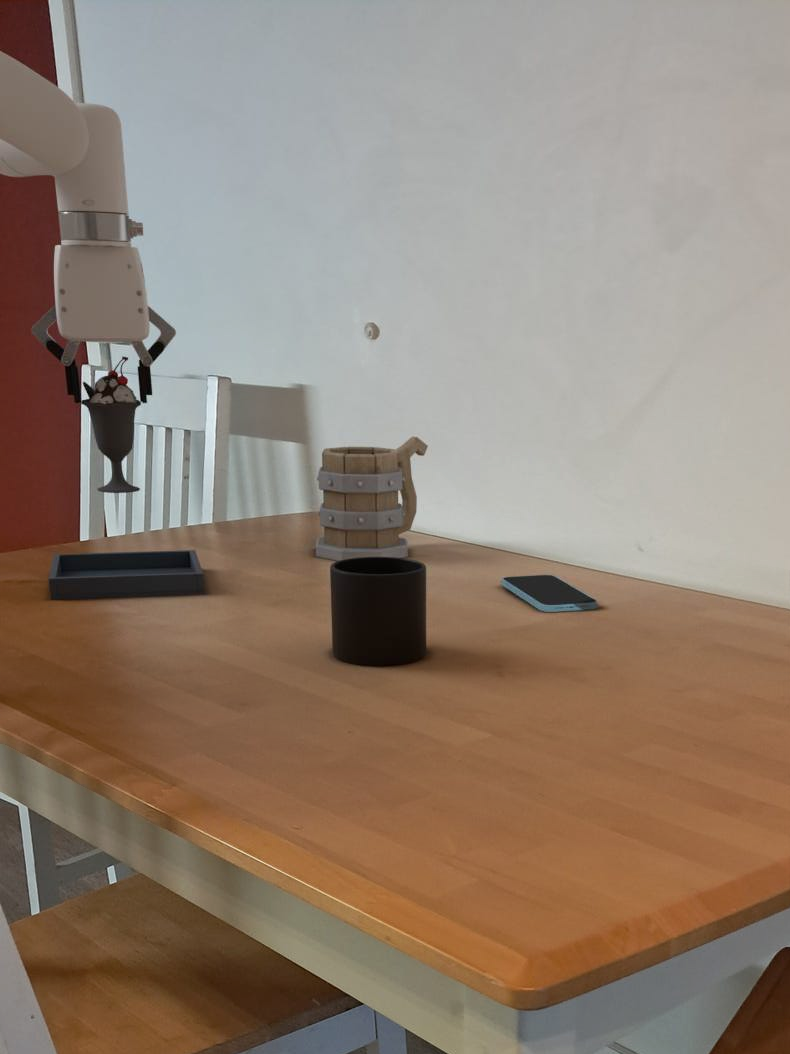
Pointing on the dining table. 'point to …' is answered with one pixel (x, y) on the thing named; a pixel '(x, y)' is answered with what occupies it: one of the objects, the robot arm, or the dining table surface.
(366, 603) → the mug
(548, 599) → the smartphone
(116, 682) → the dining table surface
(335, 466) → the tankard
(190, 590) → the tray
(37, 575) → the dining table surface
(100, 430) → the sundae
